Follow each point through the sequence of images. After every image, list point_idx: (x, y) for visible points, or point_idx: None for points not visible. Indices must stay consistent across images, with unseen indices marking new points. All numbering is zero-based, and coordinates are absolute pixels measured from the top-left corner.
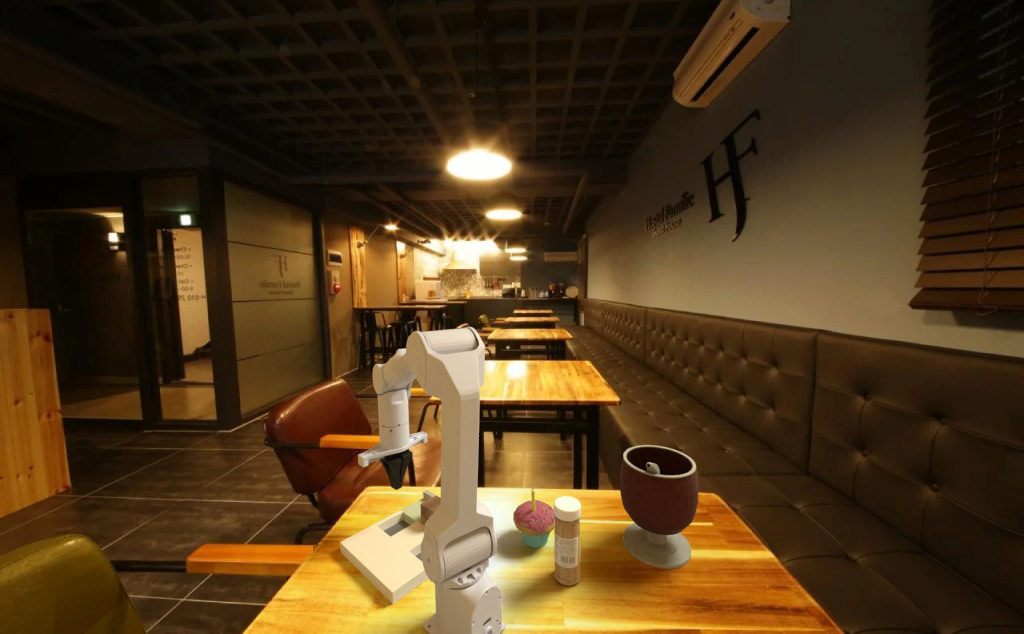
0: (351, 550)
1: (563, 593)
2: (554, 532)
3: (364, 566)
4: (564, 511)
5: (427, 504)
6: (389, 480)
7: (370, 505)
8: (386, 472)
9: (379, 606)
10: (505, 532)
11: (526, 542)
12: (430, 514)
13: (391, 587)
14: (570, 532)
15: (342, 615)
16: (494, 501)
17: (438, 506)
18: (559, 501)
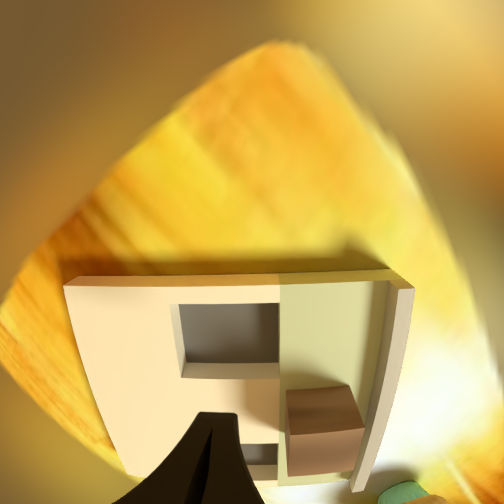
0: (80, 342)
1: None
2: None
3: (97, 403)
4: None
5: (303, 449)
6: (185, 433)
7: (243, 103)
8: (157, 467)
9: (114, 447)
10: (393, 467)
11: (379, 501)
12: (287, 459)
13: (129, 468)
14: None
15: (65, 417)
16: (478, 383)
17: (318, 470)
18: None
